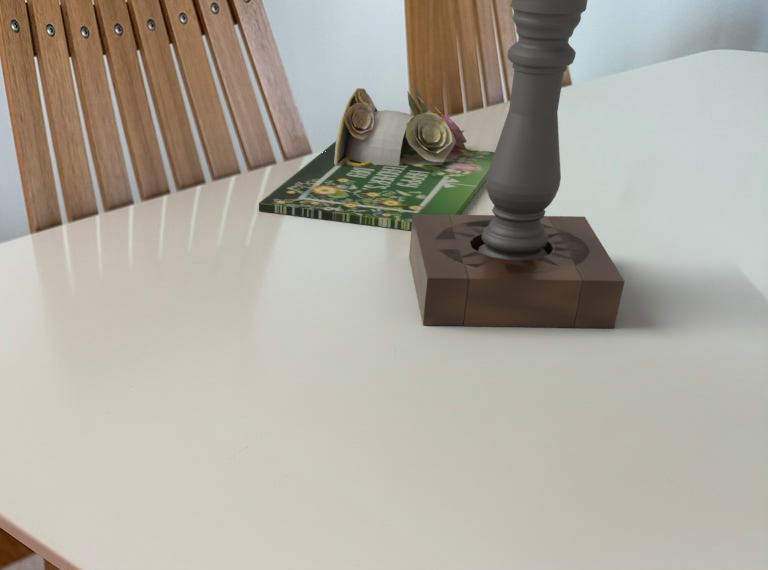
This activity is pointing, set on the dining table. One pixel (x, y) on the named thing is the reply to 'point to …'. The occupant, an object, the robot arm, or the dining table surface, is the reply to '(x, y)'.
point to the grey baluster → (530, 130)
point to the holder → (512, 276)
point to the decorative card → (385, 169)
